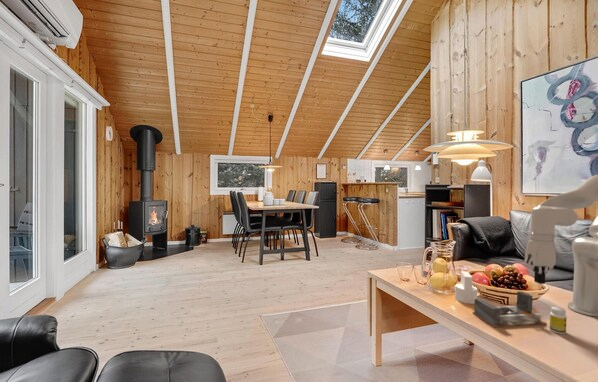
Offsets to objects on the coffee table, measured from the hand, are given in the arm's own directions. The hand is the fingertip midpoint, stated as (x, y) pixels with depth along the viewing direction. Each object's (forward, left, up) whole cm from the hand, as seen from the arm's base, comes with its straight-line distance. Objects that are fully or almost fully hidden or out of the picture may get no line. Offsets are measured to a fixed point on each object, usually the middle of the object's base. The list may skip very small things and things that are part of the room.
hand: (539, 282), depth 123 cm
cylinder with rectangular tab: (+17, -20, -15) cm, 30 cm away
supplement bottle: (+3, +11, -14) cm, 18 cm away
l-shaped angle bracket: (+10, +2, -13) cm, 16 cm away
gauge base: (+13, 0, -14) cm, 19 cm away
